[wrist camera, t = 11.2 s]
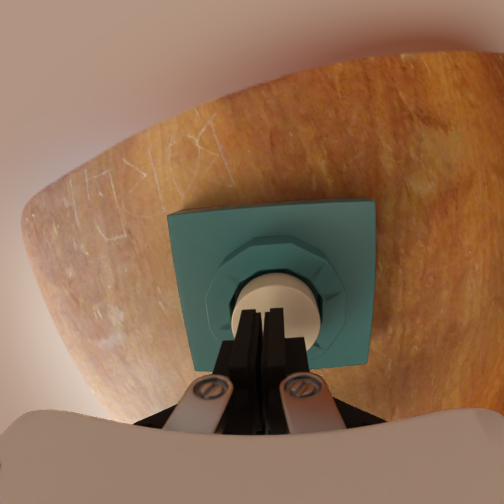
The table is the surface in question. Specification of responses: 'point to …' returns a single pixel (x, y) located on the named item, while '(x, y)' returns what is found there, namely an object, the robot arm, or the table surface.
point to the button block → (278, 269)
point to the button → (281, 304)
